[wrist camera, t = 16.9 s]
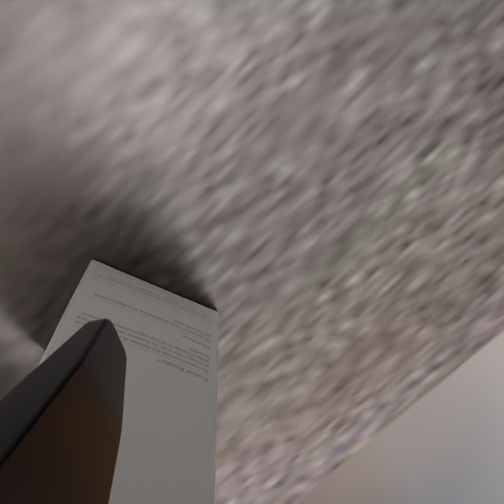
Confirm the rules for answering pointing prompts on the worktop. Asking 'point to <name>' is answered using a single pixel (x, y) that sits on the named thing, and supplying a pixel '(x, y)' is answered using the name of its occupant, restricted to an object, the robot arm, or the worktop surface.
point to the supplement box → (156, 385)
